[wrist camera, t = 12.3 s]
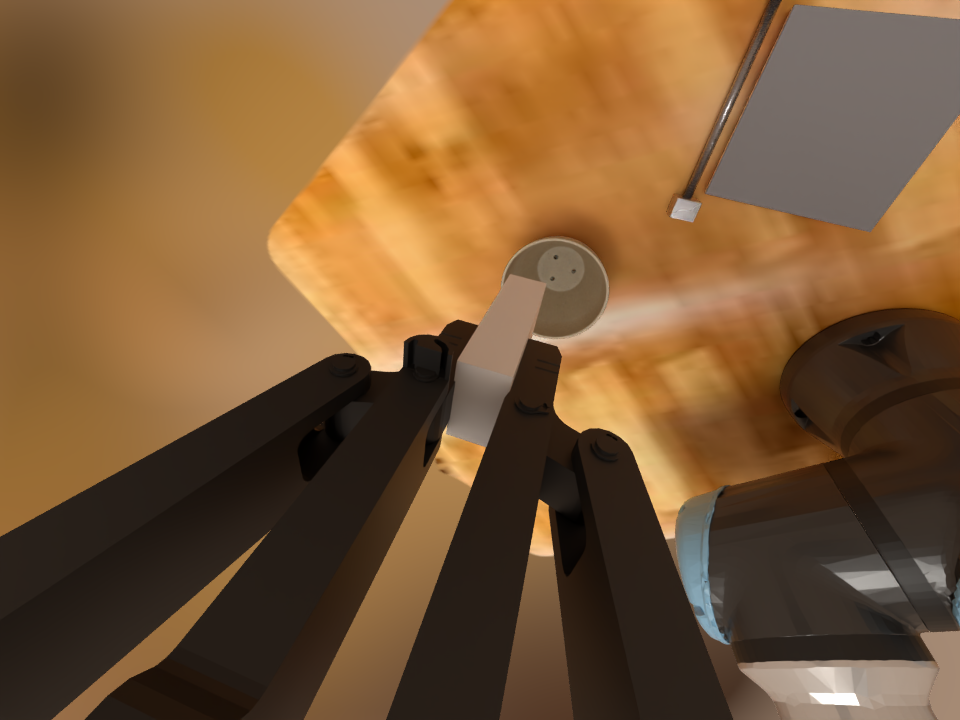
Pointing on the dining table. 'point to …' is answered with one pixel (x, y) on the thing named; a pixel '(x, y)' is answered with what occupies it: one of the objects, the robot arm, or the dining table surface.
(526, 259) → the flower pot
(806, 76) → the tile
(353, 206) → the dining table surface
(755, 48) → the hinge bracket
